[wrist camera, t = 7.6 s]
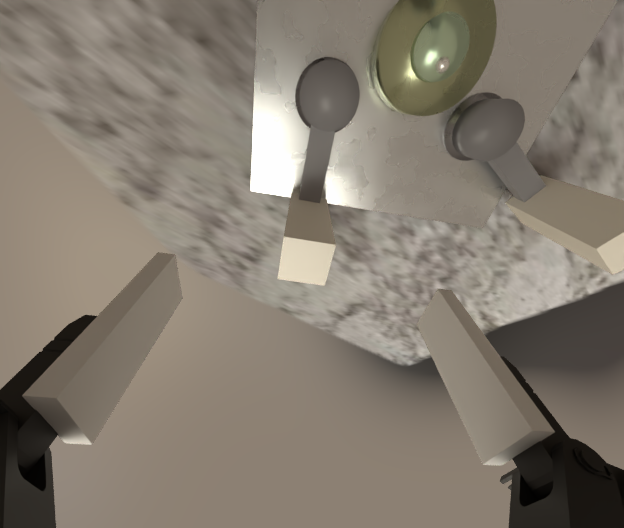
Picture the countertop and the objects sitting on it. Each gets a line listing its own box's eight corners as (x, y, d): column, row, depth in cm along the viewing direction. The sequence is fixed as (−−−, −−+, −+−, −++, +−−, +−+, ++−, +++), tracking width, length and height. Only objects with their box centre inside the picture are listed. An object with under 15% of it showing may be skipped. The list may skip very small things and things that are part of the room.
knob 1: (305, 56, 17) (304, 24, 10) (361, 70, 17) (400, 49, 10) (282, 224, 24) (271, 278, 17) (323, 231, 24) (330, 286, 17)
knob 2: (441, 133, 20) (519, 151, 12) (489, 85, 18) (609, 74, 11) (517, 225, 24) (606, 278, 17) (560, 194, 23) (679, 238, 15)
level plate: (275, -297, 12) (255, -554, 7) (676, -149, 14) (855, -271, 10) (254, 184, 24) (241, 204, 20) (471, 220, 27) (506, 245, 22)
